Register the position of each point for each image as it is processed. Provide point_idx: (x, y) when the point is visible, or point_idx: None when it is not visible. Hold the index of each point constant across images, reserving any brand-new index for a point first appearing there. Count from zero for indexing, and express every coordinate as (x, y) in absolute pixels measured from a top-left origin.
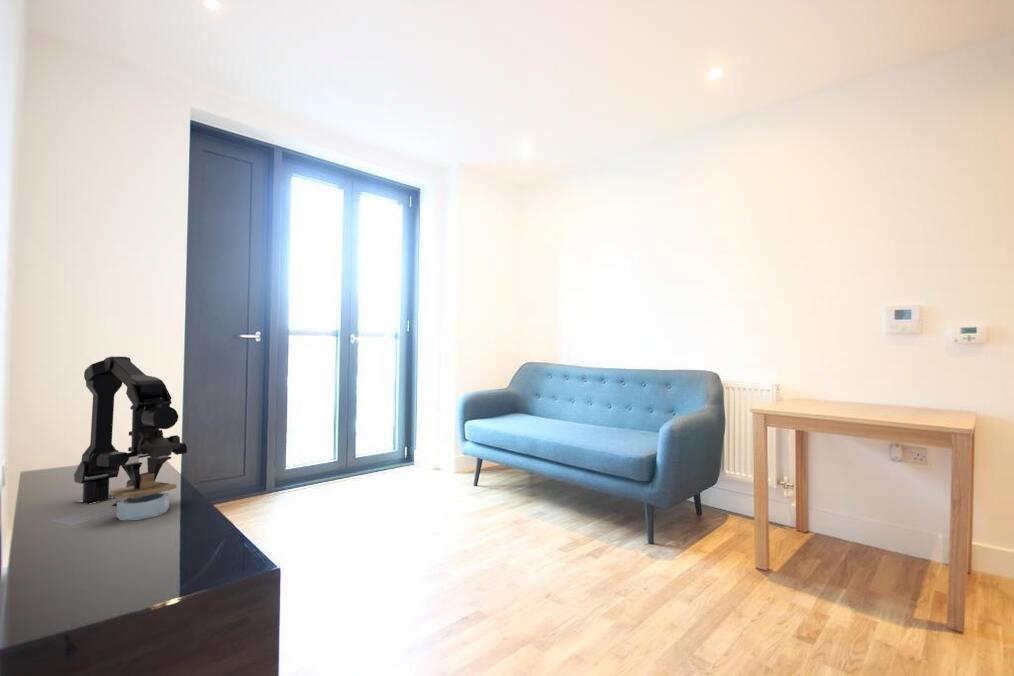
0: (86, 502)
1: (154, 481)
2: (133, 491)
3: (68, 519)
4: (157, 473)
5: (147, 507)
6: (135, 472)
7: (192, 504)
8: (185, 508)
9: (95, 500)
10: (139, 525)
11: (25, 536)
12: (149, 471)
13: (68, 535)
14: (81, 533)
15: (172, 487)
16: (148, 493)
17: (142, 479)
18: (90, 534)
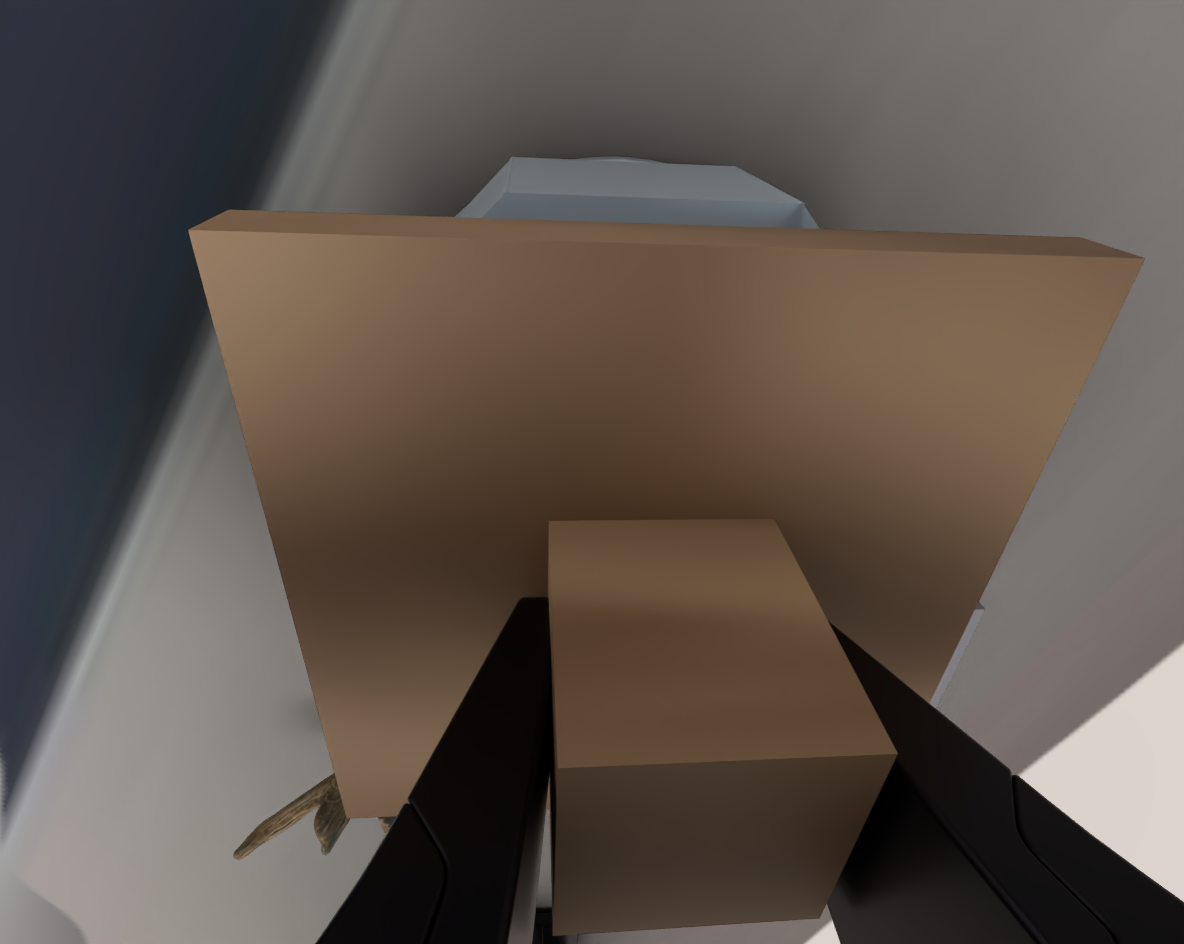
0: (570, 939)
1: (504, 631)
2: (908, 511)
3: None
4: (443, 768)
5: (763, 186)
6: (1131, 894)
7: (72, 254)
8: (210, 158)
9: (539, 933)
10: (909, 7)
11: (1142, 655)
12: (530, 936)
13: (1172, 424)
14: (1134, 376)
15: (310, 224)
16: (843, 235)
17: (829, 669)
18: (1180, 259)
